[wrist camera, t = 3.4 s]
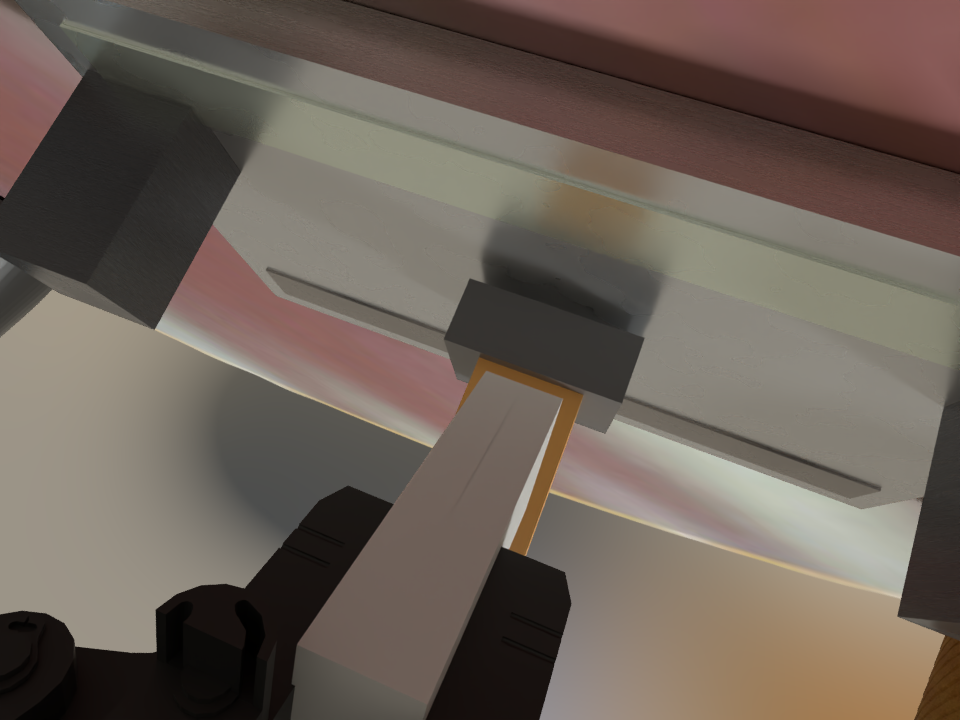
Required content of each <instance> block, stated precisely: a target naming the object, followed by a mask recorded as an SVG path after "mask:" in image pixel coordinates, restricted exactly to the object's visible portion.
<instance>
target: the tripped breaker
mask: <svg viewBox="0 0 960 720" xmlns="http://www.w3.org/2000/svg"><path fill="white" fill-rule="evenodd" d="M644 339H645V338H643V337H640V336H637V335H634V334H631V333H628V332H626V331H623V330H620V329H617V328H614V327H611V326H608V325H605V324H602V323H599V322H596V321H593V320H591V319H588V318H585V317H582V316H579V315H576V314H573V313H570V312H567V311H564V310H561V309H558V308H556V307H553V306H550V305H547V304H544V303H541V302H538V301H535V300H532V299H529V298H526V297H523V296H520V295H518V294H515V293H512V292H509V291H506V290H503V289H500V288H497V287H494V286H491V285H488V284H485V283H483V282H480V281H477V280H474V279H471V278H470V279H469V281H468V284H467V286H466V288H465V291H464V293H463V295H462V298H461V300H460V302H459V304H458V307H457V309H456V311H455V314H454V316H453V318H452V321H451V323H450V325H449V328H448V330H447V332H446V335H445V337H444V342H445V345H446V348H447V351H448V354H449V357H450V360H451V363H452V365H453V368H454V371H455V374H456V377H457V379H458V380H461V381H463V382H466V383H468V386H467V388H466V390H465V393H464V395H463V398H462V400H461V402H460V405H459V407H458V410H457V412H458V411H459V409H460V408H461V407H462V405H463V404H464V402H465V401H466V399H467V398H468V396H469V395H470V393H471V392H472V391H473V389H474V388H475V386H476V385H477V383H478V382H479V380H480V379H481V378H482V376H483V375H484V373H485V372H486V371H488V372H491V373H494V374H497V375H499V376H502V377H505V378H508V379H510V380H513V381H516V382H518V383H521V384H524V385H527V386H529V387H532V388H535V389H538V390H540V391H543V392H546V393H549V394H551V395H554V396H557V397H559V398H562V399H563V401H562V403H561V406H560V409H559V412H558V415H557V418H556V421H555V424H554V427H553V430H552V433H551V436H550V439H549V442H548V445H547V448H546V451H545V454H544V457H543V460H542V463H541V466H540V469H539V472H538V475H537V478H536V481H535V484H534V487H533V490H532V493H531V496H530V499H529V502H528V505H527V508H526V510H525V513H524V515H523V517H522V520H521V522H520V525H519V527H518V529H517V532H516V534H515V537H514V539H513V541H512V544H511V546H510V548H509V550H512V551H514V552H516V553H519V554H521V555H524V556H526V554H527V551H528V548H529V546H530V543H531V540H532V538H533V535H534V532H535V529H536V526H537V524H538V521H539V518H540V515H541V513H542V510H543V507H544V505H545V502H546V499H547V496H548V494H549V491H550V488H551V486H552V483H553V480H554V477H555V475H556V472H557V469H558V466H559V464H560V461H561V458H562V455H563V453H564V450H565V447H566V444H567V442H568V439H569V436H570V433H571V431H572V428H573V425H574V422H575V423H577V424H580V425H583V426H585V427H588V428H591V429H594V430H596V431H599V432H602V433H604V434H605V433H606V431H607V429H608V428H609V426H610V424H611V422H612V421H613V419H614V417H615V415H616V413H617V412H618V410H619V408H620V406H621V404H622V402H623V399H624V396H625V394H626V391H627V388H628V385H629V382H630V379H631V376H632V373H633V371H634V368H635V365H636V362H637V359H638V356H639V353H640V351H641V348H642V345H643V342H644ZM457 412H456V414H457Z"/></svg>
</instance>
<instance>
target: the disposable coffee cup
mask: <svg viewBox="0 0 960 720" xmlns="http://www.w3.org/2000/svg"><path fill="white" fill-rule="evenodd" d="M914 720H960V641H959V640H957V639H954V638H951V637H949V636H946V635H945V637H944V640H943V642H942V645H941V648H940V651H939V654H938V656H937V658H936V661H935V664H934V668H933V670H932V672H931V675H930V677H929V682H928V684H927V687H926V689H925V691H924V694H923V698H922V701H921V703H920V705H919V708H918V712H917V715H916V717H915V719H914Z"/></svg>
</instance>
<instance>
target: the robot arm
mask: <svg viewBox="0 0 960 720" xmlns="http://www.w3.org/2000/svg"><path fill="white" fill-rule="evenodd" d="M2 202H3V201H2V200H0V205H1V204H2ZM51 290H52V288H50V287H49V286H47V285H45V284H44V283H42V282H40V281H39V280H37V279H35V278H34V277H32V276H31V275H29V274H27V273H26V272H24V271H22V270H21V269H19V268H17V267H16V266H14V265H13V264H11V263H9V262H8V261H6V260H4V259H3V258H1V257H0V337H1V336H2V335H3V334H5V333H6V332H7V331H8V330H9V329H10V328H11V327H13V326H14V325H15V324H16V323H17V322H18V321H19V320H21V319H22V318H23V317H24V316H25V315H26V314H27V313H28V312H30V311H31V310H32V309H33V308H34V307H35V306H36V305H37V304H38V303H39V302H40V301H41V300H42V299H43V298H44V297H45V296H46V295H47V294H48V293H49V292H50V291H51ZM562 401H563V399H562V398H559V397H557V396H554V395H551V394H549V393H546V392H543V391H540V390H538V389H535V388H532V387H529V386H527V385H524V384H521V383H518V382H516V381H513V380H510V379H508V378H505V377H502V376H499V375H497V374H494V373H491V372H488V371H486V372H485V373H484V375H483V376H482V378H481V379H480V380H479V382H478V383H477V385H476V386H475V388H474V389H473V391H472V392H471V393H470V395H469V396H468V398H467V399H466V401H465V402H464V404H463V405H462V407H461V408H460V409H459V411H458V412H457V414H456V415H455V417H454V418H453V420H452V421H451V422H450V424H449V425H448V427H447V428H446V430H445V431H444V433H443V434H442V435H441V437H440V438H439V440H438V441H437V443H436V444H435V446H434V447H433V448H432V450H431V451H430V453H429V454H428V456H427V457H426V459H425V460H424V462H423V463H422V465H421V466H420V468H419V469H418V470H417V472H416V473H415V475H414V476H413V477H412V479H411V481H410V482H409V483H408V485H407V486H406V488H405V489H404V490H403V492H402V493H401V495H400V496H399V498H398V499H397V501H396V502H395V504H392V503H389V502H387V501H384V500H382V499H379V498H377V497H374V496H372V495H370V494H367V493H365V492H362V491H360V490H358V489H355V488H353V487H350V486H346V487H345V488H343V489H341V490H339V491H337V492H335V493H333V494H331V495H329V496H327V497H325V498H323V499H321V500H320V501H318V503H317V504H316V505H315V506H314V507H313V509H312V510H311V511H310V512H309V513H308V515H307V516H306V517H305V518H304V519H303V520H302V522H301V523H300V524H299V527H298V529H295V530H294V531H293V532H292V534H290V536H289V537H288V538H287V539H286V540H285V542H284V543H283V545H282V547H281V549H280V548H279V549H278V550H277V551H276V552H275V553H274V555H273V556H272V557H271V558H270V559H269V560H268V562H267V563H266V564H265V565H264V566H263V567H262V569H261V570H260V571H259V572H258V573H257V575H256V576H255V577H254V578H253V579H252V581H251V582H250V583H249V584H248V585H247V586H246V588H245V589H244V588H240V587H236V586H232V585H228V584H218V585H201V586H198V587H195V588H193V589H190V590H187V591H185V592H181V593H179V594H176V595H175V596H173V597H172V598H171V599H170V600H168V601H167V602H166V603H164V604H163V605H162V606H160V607H159V608H157V609H156V638H157V639H156V640H157V641H156V642H157V652H154V653H128V652H118V651H109V650H100V649H91V648H82V647H75V643H74V638H73V637H72V635H71V634H70V632H69V630H68V628H67V627H66V625H65V624H64V623H62V622H61V621H59V620H57V619H55V618H54V617H52V616H50V615H48V614H45V613H37V612H28V611H18V612H12V613H6V614H1V615H0V720H539V719H540V715H541V711H542V708H543V704H544V701H545V697H546V694H547V690H548V686H549V683H550V679H551V675H552V672H553V668H554V663H555V660H556V657H557V654H558V650H559V647H560V643H561V638H562V635H563V632H564V629H565V625H566V621H567V618H568V614H569V610H570V607H571V599H570V595H569V590H568V585H567V580H566V575H565V572H563V571H560V570H558V569H555V568H553V567H551V566H548V565H546V564H543V563H541V562H538V561H536V560H534V559H531V558H529V557H526V556H524V555H521V554H519V553H516V552H514V551H512V550H509V548H510V546H511V544H512V541H513V539H514V537H515V534H516V532H517V529H518V527H519V525H520V522H521V520H522V517H523V515H524V513H525V510H526V508H527V505H528V502H529V499H530V496H531V493H532V490H533V487H534V484H535V481H536V478H537V475H538V472H539V469H540V466H541V463H542V460H543V457H544V454H545V451H546V448H547V445H548V442H549V439H550V436H551V433H552V430H553V427H554V424H555V421H556V418H557V415H558V412H559V409H560V406H561V403H562Z"/></svg>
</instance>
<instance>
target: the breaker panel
mask: <svg viewBox="0 0 960 720" xmlns="http://www.w3.org/2000/svg"><path fill="white" fill-rule="evenodd" d="M15 1H16V2H17V3H18V4H19V6H20V7H21V8H22V9H23V10H24V11H25V12H26V14H27V15H28V16H29V17H30V18H31V19H32V20H33V21H34V23H35V24H36V25H37V26H38V27H39V28H40V29H41V30H42V32H43V33H44V34H45V35H46V36H47V37H48V38H49V40H50V41H51V42H52V43H53V44H54V45H55V46H56V47H57V49H58V50H59V51H60V52H61V53H62V54H63V55H64V56H65V58H66V59H67V60H68V61H69V62H70V63H71V64H72V66H73V67H74V68H75V69H76V70H77V71H78V72H79V73H80V75H81V76H82V77H83V78H82V80H81V81H80V83H79V84H78V86H77V87H76V89H75V90H74V92H73V94H72V95H71V97H70V98H69V100H68V101H67V103H66V104H65V106H64V107H63V109H62V111H61V112H60V114H59V115H58V117H57V118H56V120H55V121H54V123H53V124H52V126H51V128H50V129H49V131H48V132H47V134H46V135H45V137H44V138H43V140H42V142H41V143H40V145H39V146H38V148H37V149H36V151H35V152H34V154H33V155H32V157H31V159H30V160H29V162H28V163H27V165H26V166H25V168H24V169H23V171H22V173H21V174H20V176H19V177H18V179H17V180H16V182H15V183H14V185H13V186H12V188H11V190H10V191H9V193H8V194H7V196H6V197H5V199H4V200H3V202H2V204H1V205H0V257H1V258H3V259H4V260H6V261H8V262H9V263H11V264H13V265H14V266H16V267H17V268H19V269H21V270H22V271H24V272H26V273H27V274H29V275H31V276H32V277H34V278H35V279H37V280H39V281H40V282H42V283H44V284H45V285H47V286H49V287H50V288H52V289H53V290H55V291H57V292H58V293H60V294H63V295H66V296H68V297H71V298H73V299H76V300H79V301H81V302H84V303H86V304H89V305H91V306H95V307H97V308H99V309H102V310H104V311H107V312H110V313H112V314H115V315H118V316H120V317H123V318H125V319H128V320H131V321H133V322H136V323H138V324H141V325H143V326H146V327H148V328H151V329H154V330H155V328H156V326H157V324H158V322H159V321H160V319H161V317H162V315H163V313H164V312H165V310H166V308H167V306H168V304H169V302H170V301H171V299H172V297H173V295H174V293H175V292H176V290H177V288H178V286H179V284H180V282H181V281H182V279H183V277H184V275H185V273H186V272H187V270H188V268H189V266H190V264H191V262H192V261H193V259H194V257H195V255H196V253H197V252H198V250H199V248H200V246H201V244H202V242H203V241H204V239H205V237H206V235H207V233H208V232H209V230H210V228H211V226H212V224H213V225H214V226H215V227H216V228H217V230H218V231H219V232H220V233H221V234H222V235H223V236H224V238H225V239H226V240H227V241H228V242H229V243H230V244H231V245H232V247H233V248H234V249H235V250H236V251H237V252H238V253H239V254H240V256H241V257H242V258H243V259H244V260H245V261H246V262H247V264H248V265H249V266H250V267H251V268H252V269H253V270H254V271H255V273H256V274H257V275H258V276H259V277H260V278H261V279H262V281H263V282H264V283H265V284H266V285H267V286H268V287H269V288H270V290H271V291H272V292H273V293H274V294H275V295H276V296H278V297H281V298H284V299H286V300H289V301H292V302H295V303H297V304H300V305H303V306H306V307H308V308H311V309H314V310H317V311H319V312H322V313H325V314H328V315H330V316H333V317H336V318H338V319H341V320H344V321H347V322H349V323H352V324H355V325H358V326H360V327H363V328H366V329H369V330H371V331H374V332H377V333H380V334H382V335H385V336H388V337H391V338H393V339H396V340H399V341H402V342H404V343H407V344H410V345H413V346H415V347H418V348H421V349H423V350H426V351H429V352H432V353H434V354H437V355H440V356H443V357H445V358H448V359H450V357H449V354H448V351H447V348H446V345H445V342H444V337H445V335H446V332H447V330H448V328H449V325H450V323H451V321H452V318H453V316H454V314H455V311H456V309H457V307H458V304H459V302H460V300H461V298H462V295H463V293H464V291H465V288H466V286H467V284H468V281H469V279H470V278H471V279H474V280H477V281H480V282H483V283H485V284H488V285H491V286H494V287H497V288H500V289H503V290H506V291H509V292H512V293H515V294H518V295H520V296H523V297H526V298H529V299H532V300H535V301H538V302H541V303H544V304H547V305H550V306H553V307H556V308H558V309H561V310H564V311H567V312H570V313H573V314H576V315H579V316H582V317H585V318H588V319H591V320H593V321H596V322H599V323H602V324H605V325H608V326H611V327H614V328H617V329H620V330H623V331H626V332H628V333H631V334H634V335H637V336H640V337H643V338H645V339H644V342H643V345H642V348H641V351H640V353H639V356H638V359H637V362H636V365H635V368H634V371H633V373H632V376H631V379H630V382H629V385H628V388H627V391H626V394H625V396H624V399H623V402H622V404H621V406H620V408H619V410H618V412H617V413H616V415H615V417H614V419H615V420H618V421H621V422H624V423H626V424H629V425H632V426H635V427H637V428H640V429H643V430H646V431H648V432H651V433H654V434H657V435H659V436H662V437H665V438H668V439H670V440H673V441H676V442H678V443H681V444H684V445H687V446H689V447H692V448H695V449H698V450H700V451H703V452H706V453H709V454H711V455H714V456H717V457H720V458H722V459H725V460H728V461H731V462H733V463H736V464H739V465H742V466H744V467H747V468H750V469H753V470H755V471H758V472H761V473H763V474H766V475H769V476H772V477H774V478H777V479H780V480H783V481H785V482H788V483H791V484H794V485H796V486H799V487H802V488H805V489H807V490H810V491H813V492H816V493H818V494H821V495H824V496H827V497H829V498H832V499H835V500H838V501H840V502H843V503H846V504H848V505H851V506H854V507H857V508H859V509H865V508H870V507H875V506H880V505H885V504H890V503H895V502H900V501H905V500H910V499H915V498H920V497H924V498H923V503H922V507H921V512H920V516H919V521H918V525H917V530H916V534H915V539H914V543H913V548H912V552H911V557H910V561H909V566H908V571H907V575H906V580H905V584H904V589H903V593H902V598H901V602H900V607H899V611H898V617H900V618H903V619H905V620H908V621H910V622H913V623H915V624H918V625H920V626H923V627H926V628H928V629H931V630H934V631H936V632H939V633H941V634H944V635H946V636H949V637H951V638H954V639H957V640H959V641H960V174H956V173H952V172H949V171H945V170H942V169H938V168H935V167H931V166H928V165H924V164H920V163H917V162H913V161H910V160H906V159H903V158H899V157H896V156H892V155H889V154H885V153H881V152H878V151H874V150H871V149H867V148H864V147H860V146H857V145H853V144H850V143H846V142H842V141H839V140H835V139H832V138H828V137H825V136H821V135H818V134H814V133H811V132H807V131H803V130H800V129H796V128H793V127H789V126H786V125H782V124H779V123H775V122H772V121H768V120H764V119H761V118H757V117H754V116H750V115H747V114H743V113H740V112H736V111H733V110H729V109H725V108H722V107H718V106H715V105H711V104H708V103H704V102H701V101H697V100H694V99H690V98H686V97H683V96H679V95H676V94H672V93H669V92H665V91H662V90H658V89H655V88H651V87H647V86H644V85H640V84H637V83H633V82H630V81H626V80H623V79H619V78H616V77H612V76H608V75H605V74H601V73H598V72H594V71H591V70H587V69H584V68H580V67H577V66H573V65H569V64H566V63H562V62H559V61H555V60H552V59H548V58H545V57H541V56H538V55H534V54H530V53H527V52H523V51H520V50H516V49H513V48H509V47H506V46H502V45H498V44H495V43H491V42H488V41H484V40H481V39H477V38H474V37H470V36H467V35H463V34H459V33H456V32H452V31H449V30H445V29H442V28H438V27H435V26H431V25H428V24H424V23H420V22H417V21H413V20H410V19H406V18H403V17H399V16H396V15H392V14H389V13H385V12H381V11H378V10H374V9H371V8H367V7H364V6H360V5H357V4H353V3H350V2H346V1H342V0H15Z"/></svg>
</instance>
